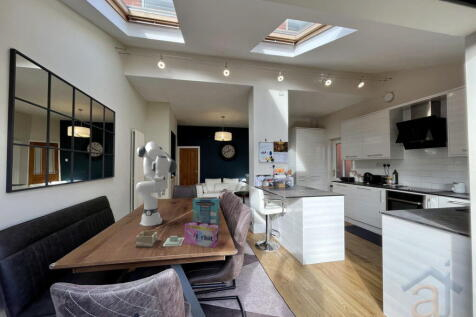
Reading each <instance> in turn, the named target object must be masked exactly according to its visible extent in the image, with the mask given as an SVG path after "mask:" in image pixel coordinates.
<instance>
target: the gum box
mask: <svg viewBox="0 0 476 317" xmlns="http://www.w3.org/2000/svg"><path fill="white" fill-rule="evenodd" d="M218 232H220V223H219V224H214V223H204V222H195V221H193V220H190V221H189V222H188V221H187V222H186V223H184V237H185V238H184V244H188V245H191V246H192V245H193V246H199V247H206V248H213V249H214V248H215V247H217V246H218V244H219V233H218Z"/></svg>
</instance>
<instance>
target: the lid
mask: <svg viewBox="0 0 476 317" xmlns="http://www.w3.org/2000/svg"><path fill="white" fill-rule="evenodd" d="M168 238H169V239H168ZM168 238H167V239H168V241H167V242H166V241H165V242H166V243H165V242H164V243H165V245H179V244H180V242H181V240H182V238H183V237H179V236H178V235H170V236H169V237H168Z"/></svg>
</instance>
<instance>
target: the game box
mask: <svg viewBox="0 0 476 317" xmlns="http://www.w3.org/2000/svg"><path fill="white" fill-rule="evenodd" d="M192 221H195V222H204V223H214V224H219V225H220V198H212V197H195V198H192ZM219 232H220V231H219ZM219 232H218V234H219Z"/></svg>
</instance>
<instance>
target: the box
mask: <svg viewBox="0 0 476 317" xmlns="http://www.w3.org/2000/svg"><path fill="white" fill-rule="evenodd" d="M158 232H159V231H158V229H156V230H155V229H154V230H142V231H141V232H139V233H138V234H137V235H136V236H135V248H151V247H153V246H154V244H156V242H157V241H158Z"/></svg>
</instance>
